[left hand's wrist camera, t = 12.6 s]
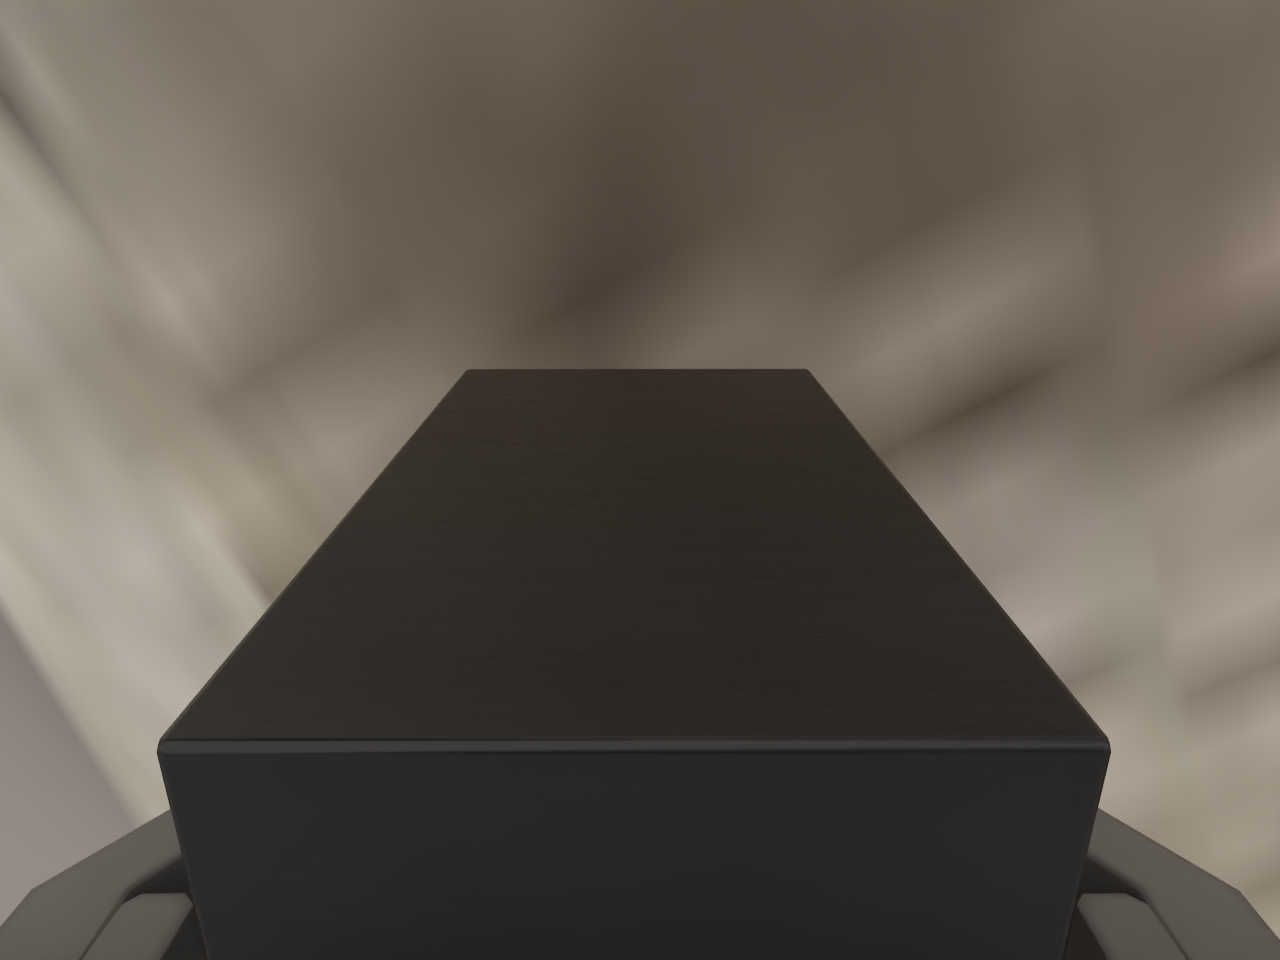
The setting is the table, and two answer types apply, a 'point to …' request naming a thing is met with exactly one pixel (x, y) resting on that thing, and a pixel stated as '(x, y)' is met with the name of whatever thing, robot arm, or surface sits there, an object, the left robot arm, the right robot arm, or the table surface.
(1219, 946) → the left robot arm
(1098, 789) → the bar
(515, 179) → the table surface
